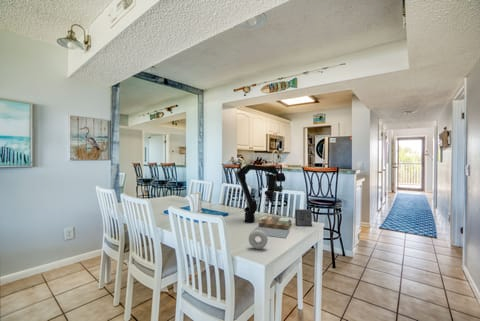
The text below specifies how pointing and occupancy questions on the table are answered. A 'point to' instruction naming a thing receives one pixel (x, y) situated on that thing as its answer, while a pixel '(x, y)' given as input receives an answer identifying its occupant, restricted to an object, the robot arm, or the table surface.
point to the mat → (273, 232)
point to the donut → (260, 234)
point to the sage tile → (284, 220)
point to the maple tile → (267, 218)
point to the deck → (275, 224)
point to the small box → (303, 217)
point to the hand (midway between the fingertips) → (271, 202)
